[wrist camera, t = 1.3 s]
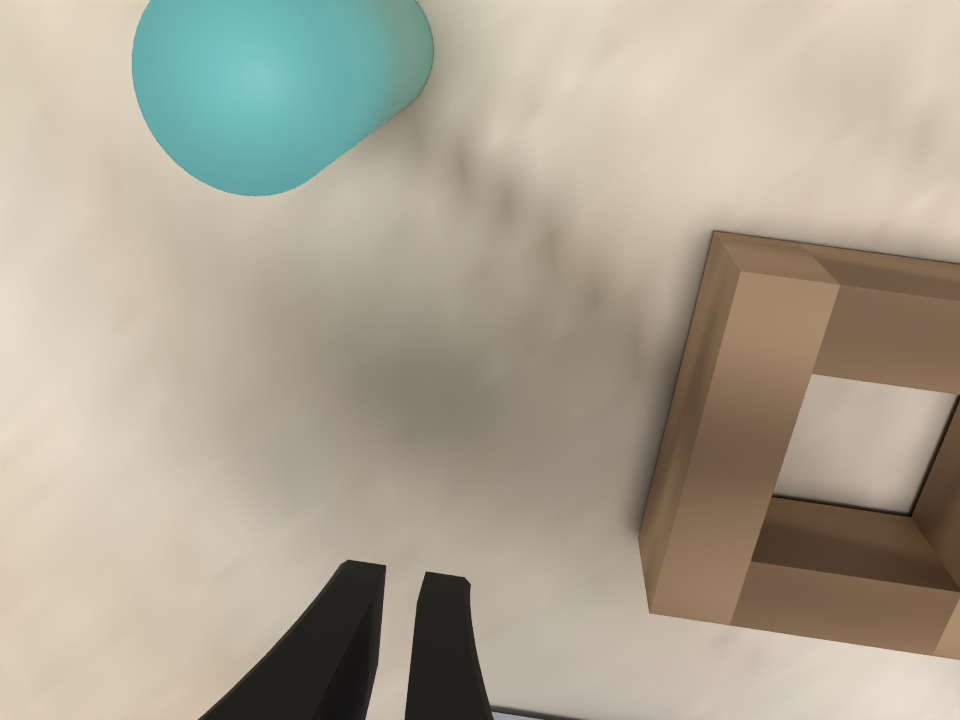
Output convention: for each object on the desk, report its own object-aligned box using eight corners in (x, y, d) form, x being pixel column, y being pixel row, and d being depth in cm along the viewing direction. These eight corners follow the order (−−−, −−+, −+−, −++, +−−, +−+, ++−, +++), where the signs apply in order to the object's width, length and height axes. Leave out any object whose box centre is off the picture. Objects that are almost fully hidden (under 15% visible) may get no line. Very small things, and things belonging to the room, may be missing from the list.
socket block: (958, 586, 22) (1014, 668, 20) (637, 538, 23) (649, 612, 20) (1101, 283, 19) (1194, 333, 16) (714, 231, 19) (741, 271, 16)
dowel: (427, 125, 19) (345, 209, 11) (300, 108, 19) (139, 181, 11) (439, -16, 17) (356, -23, 10) (303, -34, 17) (123, -53, 10)
